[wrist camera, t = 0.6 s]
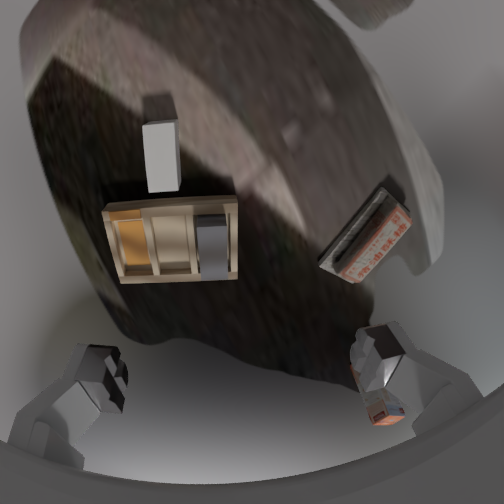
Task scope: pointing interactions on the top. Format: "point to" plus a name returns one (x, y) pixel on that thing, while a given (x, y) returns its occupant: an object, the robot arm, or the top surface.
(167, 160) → the white rectangular block
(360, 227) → the packaged product
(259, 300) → the top surface
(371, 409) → the cracker box
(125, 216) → the rack
